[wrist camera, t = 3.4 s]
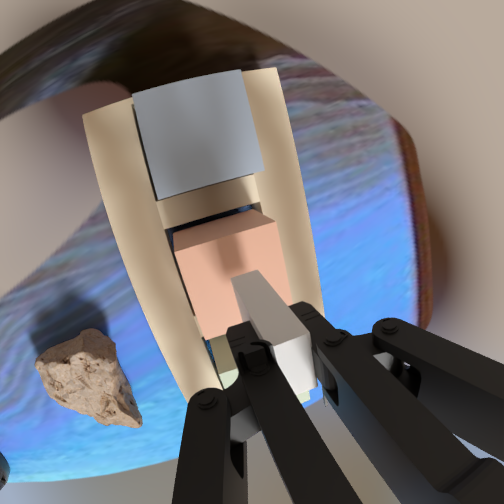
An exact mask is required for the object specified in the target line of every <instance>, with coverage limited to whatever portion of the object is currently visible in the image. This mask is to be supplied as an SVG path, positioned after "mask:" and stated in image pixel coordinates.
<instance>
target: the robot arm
mask: <svg viewBox="0 0 504 504" xmlns="http://www.w3.org/2000/svg"><path fill="white" fill-rule="evenodd" d="M230 279H231V283H232V286H233V290H234V293H235V297H236V300H237V304H238V307H239V310H240V314H241V317H242V321H243V323H240V324H237V325H234V326H231V327H228V329H227V332H226V338H227V341H228V343H229V346H230V349H231V352H232V355H233V358H234V361H235V363H236V366H237V369H238V372H239V373H238V377H237V379H236V380H235V381H234V383H233V384H232V385H230V386H229V387H227V388H226V389H224V390H221V389H218V388H205V389H202V390H200V391H198V392H196V393H195V394H194V395H193V396H192V397H191V398H190V400H189V402H188V407H187V412H186V418H185V423H184V429H183V435H182V441H181V447H180V453H179V459H178V465H177V472H176V478H175V484H174V491H173V498H172V504H248V482H247V442H246V440H247V439H248V438H250V437H252V436H253V435H255V434H256V433H258V432H259V431H262V434H263V436H264V438H265V441H266V443H267V446H268V448H269V450H270V453H271V455H272V457H273V460H274V462H275V464H276V466H277V469H278V471H279V474H280V476H281V478H282V480H283V483H284V485H285V487H286V489H287V492H288V494H289V496H290V498H291V500H292V503H293V504H363V503H362V502H361V500H360V499H359V497H358V496H357V494H356V492H355V491H354V489H353V488H352V486H351V485H350V483H349V481H348V480H347V478H346V477H345V475H344V474H343V472H342V470H341V469H340V467H339V465H338V464H337V462H336V461H335V459H334V457H333V456H332V454H331V453H330V451H329V449H328V448H327V446H326V444H325V443H324V441H323V440H322V438H321V436H320V435H319V433H318V431H317V430H316V428H315V426H314V425H313V423H312V421H311V420H310V418H309V416H308V415H307V413H306V411H305V410H304V408H303V406H302V405H301V403H300V401H299V399H298V398H297V396H296V395H298V394H301V393H303V392H306V391H308V390H310V389H313V388H315V387H318V383H317V378H318V380H319V381H320V382H321V384H322V390H323V399H324V404H325V407H326V406H328V402H327V400H328V401H329V403H330V404H331V405H332V407H333V409H334V410H335V411H336V413H337V414H338V416H339V417H340V419H341V420H342V421H343V423H344V424H345V426H346V427H347V428H348V430H349V432H350V433H351V434H352V436H353V437H354V439H355V440H356V441H357V443H358V444H359V445H360V447H361V449H362V450H363V451H364V453H365V454H366V455H367V457H368V458H369V460H370V461H371V463H372V464H373V465H374V467H375V468H376V470H377V471H378V472H379V474H380V475H381V476H382V478H383V479H384V481H385V482H386V483H387V485H388V486H389V487H390V489H391V490H392V492H393V493H394V494H395V496H396V497H397V499H398V500H399V501H400V503H401V504H504V466H503V465H502V464H501V463H500V462H498V461H497V460H496V459H493V458H489V457H488V458H482V459H480V458H477V457H476V456H474V455H473V454H472V453H471V452H470V451H469V450H468V449H467V448H466V447H465V446H464V445H463V444H462V443H461V442H460V441H459V440H458V439H457V438H456V437H455V436H454V435H453V434H455V435H457V436H458V437H460V438H462V439H464V440H465V441H467V442H469V443H471V444H472V445H474V446H476V447H478V448H480V449H481V450H483V451H485V452H487V453H488V454H490V455H492V456H494V457H496V458H497V459H499V460H501V461H503V462H504V364H502V363H499V362H497V361H495V360H492V359H490V358H488V357H485V356H483V355H481V354H479V353H476V352H474V351H472V350H469V349H467V348H465V347H462V346H460V345H458V344H456V343H453V342H451V341H449V340H446V339H444V338H442V337H439V336H437V335H435V334H433V333H430V332H428V331H426V330H423V329H421V328H419V327H417V326H414V325H412V324H410V323H407V322H405V321H403V320H401V319H397V318H384V319H381V320H379V321H377V322H376V323H375V324H374V325H373V328H372V333H367V334H363V335H356V336H352V335H351V334H350V333H349V332H347V331H346V330H341V329H335V328H334V327H333V326H332V325H331V324H330V323H329V322H328V321H327V320H326V319H325V318H324V317H323V316H322V315H321V314H320V313H319V312H318V311H317V310H316V309H315V308H314V307H313V306H312V305H311V304H309V303H306V302H304V301H301V302H298V303H295V304H292V305H290V306H287V304H286V303H285V302H284V301H283V300H282V298H281V297H280V296H279V295H278V294H277V292H276V291H275V290H274V289H273V288H272V286H271V285H270V284H269V283H268V281H267V280H266V279H265V278H264V277H263V275H262V274H261V273H260V272H259V271H258V269H257V270H254V271H251V272H248V273H245V274H242V275H238V276H235V277H232V278H230ZM404 362H406V363H408V364H410V366H407V365H405V364H404ZM452 433H453V434H452ZM9 473H10V467H9V465H8V463H7V461H6V460H5V458H4V457H3V456H2V454H1V453H0V490H1V489H2V488H3V486H4V485H5V484H6V483H7V481H8V477H9Z"/></svg>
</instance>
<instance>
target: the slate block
mask: <svg viewBox="0 0 504 504" xmlns="http://www.w3.org/2000/svg"><path fill="white" fill-rule="evenodd" d="M132 97H133V102H134V106H135V111H136V115H137V120H138V124H139V128H140V132H141V136H142V140H143V145H144V149H145V152H146V156H147V160H148V164H149V168H150V172H151V175H152V179H153V183H154V186H155V190H156V193H157V197H158V200H160V199H163V198H166V197H170V196H173V195H176V194H180V193H183V192H186V191H190V190H193V189H197V188H200V187H204V186H207V185H211V184H215V183H218V182H222V181H226V180H229V179H233V178H237V177H241V176H245V175H249V174H253V173H257V172H261V171H265V169H264V164H263V160H262V155H261V151H260V147H259V143H258V138H257V134H256V130H255V126H254V122H253V117H252V113H251V109H250V105H249V101H248V97H247V93H246V89H245V85H244V81H243V77H242V73H241V69H239V70H232V71H226V72H221V73H215V74H210V75H205V76H200V77H195V78H191V79H186V80H182V81H178V82H174V83H170V84H166V85H162V86H158V87H155V88H151V89H148V90H144V91H141V92H137V93H134V94H132Z"/></svg>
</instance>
